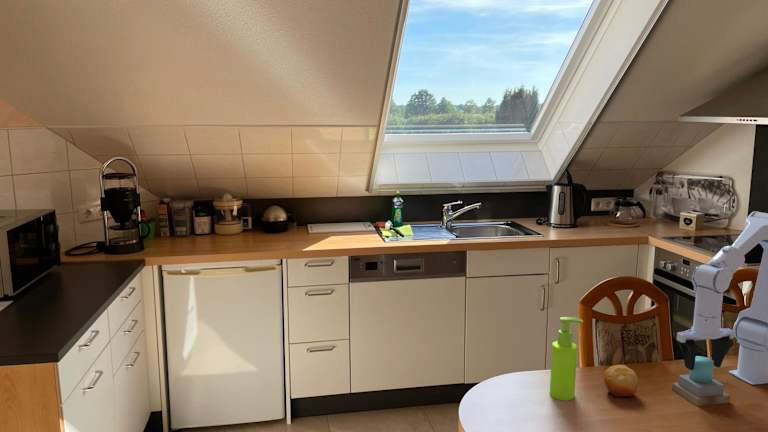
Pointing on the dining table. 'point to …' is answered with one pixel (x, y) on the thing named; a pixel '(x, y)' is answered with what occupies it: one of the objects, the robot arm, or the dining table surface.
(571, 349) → the soap dispenser
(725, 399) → the beige square slab
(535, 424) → the dining table surface
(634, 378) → the tan round lump
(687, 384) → the grey square block
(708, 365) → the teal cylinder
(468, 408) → the dining table surface
